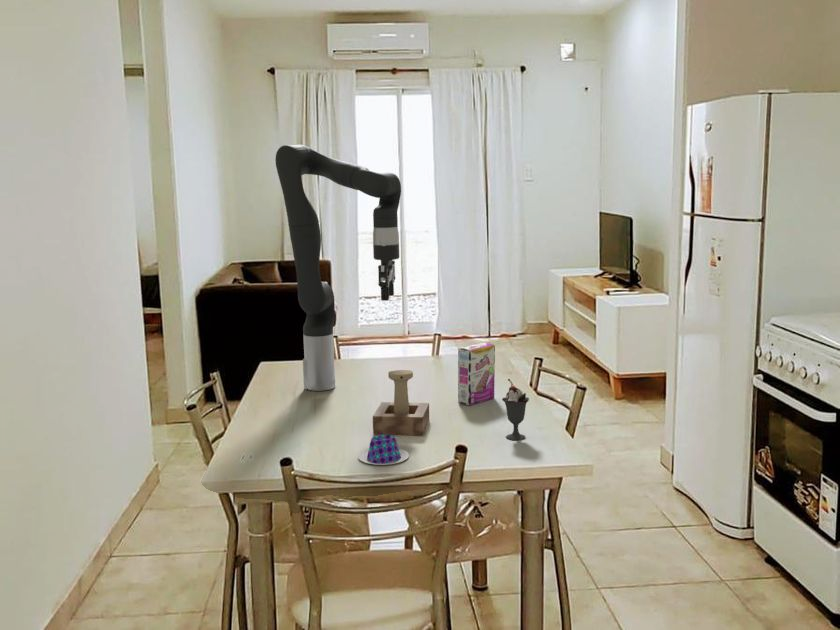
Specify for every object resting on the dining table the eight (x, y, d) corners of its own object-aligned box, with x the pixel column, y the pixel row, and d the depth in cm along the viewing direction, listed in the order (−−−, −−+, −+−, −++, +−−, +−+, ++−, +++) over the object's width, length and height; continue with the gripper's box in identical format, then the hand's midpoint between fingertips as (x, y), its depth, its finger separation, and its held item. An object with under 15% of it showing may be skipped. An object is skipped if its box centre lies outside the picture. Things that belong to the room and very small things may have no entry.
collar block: (373, 434, 217) (372, 416, 217) (382, 419, 230) (381, 402, 229) (423, 436, 216) (422, 417, 215) (429, 420, 228) (429, 403, 227)
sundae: (501, 433, 216) (501, 376, 214) (527, 433, 216) (527, 376, 213) (503, 441, 210) (502, 383, 207) (530, 441, 210) (530, 383, 207)
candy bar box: (470, 406, 241) (469, 350, 238) (457, 403, 245) (456, 347, 242) (495, 398, 249) (495, 343, 246) (483, 395, 252) (482, 341, 250)
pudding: (394, 447, 209) (394, 426, 208) (418, 461, 198) (417, 440, 197) (350, 456, 203) (349, 435, 202) (371, 471, 193) (371, 449, 192)
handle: (415, 429, 221) (413, 374, 218) (390, 431, 220) (389, 375, 218) (413, 424, 226) (411, 369, 223) (389, 425, 225) (387, 370, 222)
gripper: (377, 240, 252) (379, 294, 254) (368, 245, 238) (370, 302, 241) (402, 240, 251) (404, 294, 253) (394, 245, 237) (396, 302, 240)
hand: (387, 298), depth 247 cm, fingers open, 8 cm apart
